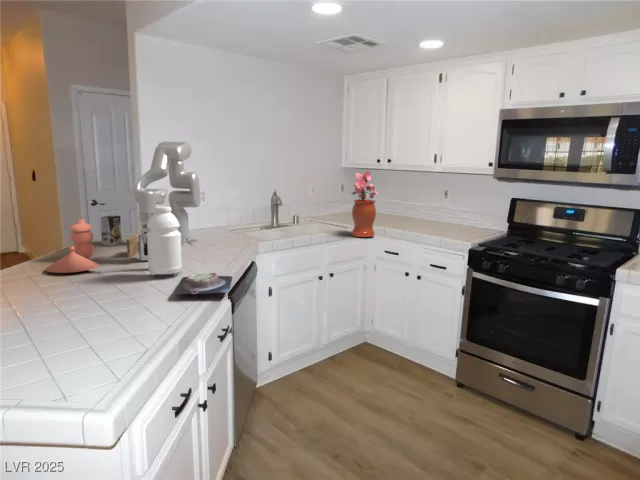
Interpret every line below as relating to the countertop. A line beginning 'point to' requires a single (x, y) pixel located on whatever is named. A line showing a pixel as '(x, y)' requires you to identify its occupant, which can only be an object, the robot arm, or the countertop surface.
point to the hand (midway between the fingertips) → (149, 253)
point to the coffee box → (111, 230)
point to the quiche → (204, 284)
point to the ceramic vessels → (77, 251)
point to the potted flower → (363, 207)
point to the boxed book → (142, 250)
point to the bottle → (164, 242)
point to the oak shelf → (132, 246)
